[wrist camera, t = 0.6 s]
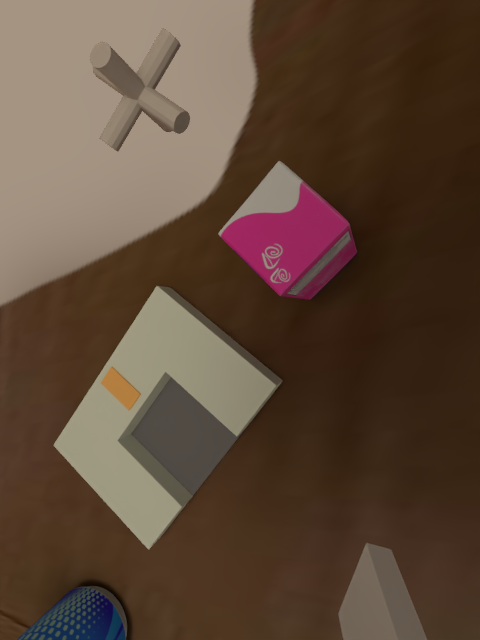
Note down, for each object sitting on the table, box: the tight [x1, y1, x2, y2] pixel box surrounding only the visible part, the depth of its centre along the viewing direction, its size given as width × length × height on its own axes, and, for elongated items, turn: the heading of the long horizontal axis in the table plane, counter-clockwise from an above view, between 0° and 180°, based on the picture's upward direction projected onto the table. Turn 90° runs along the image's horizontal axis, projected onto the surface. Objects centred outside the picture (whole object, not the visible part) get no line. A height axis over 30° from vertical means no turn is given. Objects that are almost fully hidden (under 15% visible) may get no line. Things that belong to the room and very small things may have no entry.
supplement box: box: [219, 161, 357, 300], centre depth 27 cm, size 6×6×12 cm
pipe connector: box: [90, 28, 190, 151], centre depth 32 cm, size 10×10×10 cm
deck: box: [54, 286, 283, 550], centre depth 36 cm, size 14×20×3 cm
